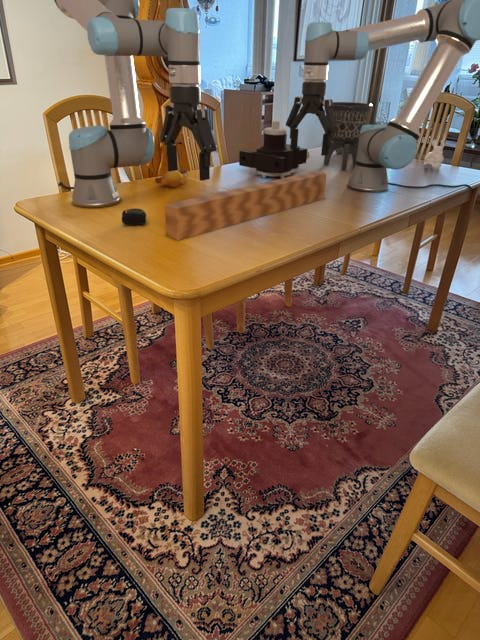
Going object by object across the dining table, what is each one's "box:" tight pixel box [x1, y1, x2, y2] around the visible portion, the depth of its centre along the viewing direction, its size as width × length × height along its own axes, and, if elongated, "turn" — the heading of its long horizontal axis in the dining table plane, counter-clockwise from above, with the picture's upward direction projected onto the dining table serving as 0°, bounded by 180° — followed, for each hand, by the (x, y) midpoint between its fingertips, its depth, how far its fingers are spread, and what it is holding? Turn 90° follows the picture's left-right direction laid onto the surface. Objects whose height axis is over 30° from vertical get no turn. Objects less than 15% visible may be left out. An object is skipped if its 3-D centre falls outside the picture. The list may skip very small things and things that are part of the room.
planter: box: [323, 101, 374, 172], centre depth 204 cm, size 20×20×26 cm
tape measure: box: [121, 207, 147, 226], centre depth 133 cm, size 7×7×4 cm
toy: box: [154, 169, 189, 188], centre depth 173 cm, size 11×6×15 cm
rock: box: [334, 147, 352, 155], centre depth 239 cm, size 13×9×6 cm, turn 131°
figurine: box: [422, 138, 446, 171], centre depth 207 cm, size 8×15×13 cm, turn 146°
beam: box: [164, 170, 327, 241], centre depth 142 cm, size 65×5×9 cm, turn 134°
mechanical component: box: [238, 120, 311, 179], centre depth 191 cm, size 22×21×30 cm
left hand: (188, 175), depth 121 cm, fingers open, 13 cm apart
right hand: (308, 152), depth 153 cm, fingers open, 13 cm apart
